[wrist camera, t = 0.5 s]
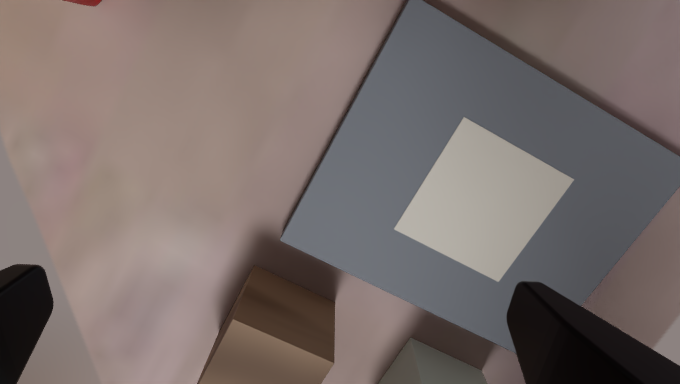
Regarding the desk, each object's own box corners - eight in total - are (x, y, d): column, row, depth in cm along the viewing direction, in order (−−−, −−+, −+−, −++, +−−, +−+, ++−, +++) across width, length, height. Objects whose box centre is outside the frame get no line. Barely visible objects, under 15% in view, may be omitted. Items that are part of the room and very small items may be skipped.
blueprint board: (526, 350, 25) (534, 362, 24) (282, 232, 22) (279, 240, 21) (679, 161, 21) (696, 166, 20) (408, -3, 19) (412, -6, 18)
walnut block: (295, 365, 25) (286, 437, 20) (218, 332, 24) (190, 399, 20) (334, 301, 24) (334, 363, 19) (254, 264, 23) (233, 319, 18)
